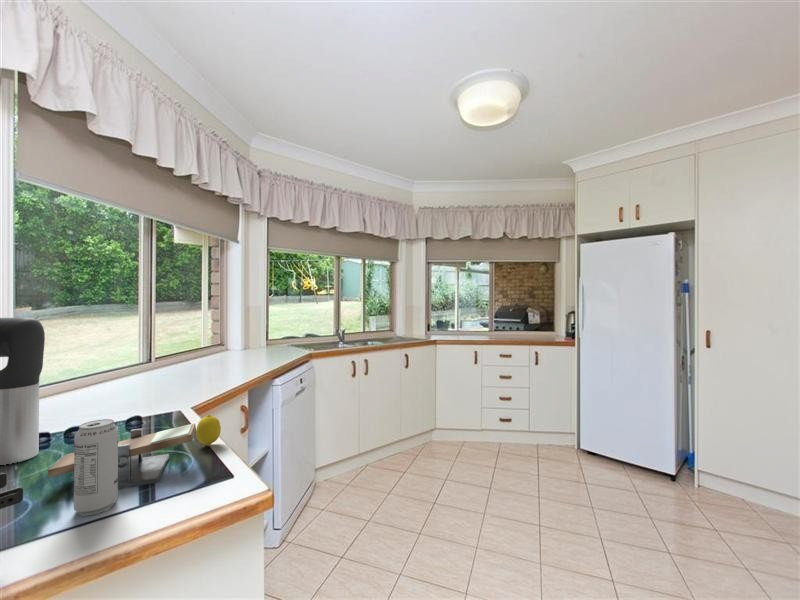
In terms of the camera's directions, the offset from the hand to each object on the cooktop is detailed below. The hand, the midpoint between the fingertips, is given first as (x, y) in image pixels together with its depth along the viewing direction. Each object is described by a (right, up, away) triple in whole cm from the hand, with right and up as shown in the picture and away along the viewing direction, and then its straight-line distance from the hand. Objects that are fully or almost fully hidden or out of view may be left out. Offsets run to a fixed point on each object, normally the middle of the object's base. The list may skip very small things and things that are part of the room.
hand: (13, 485), depth 56 cm
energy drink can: (+6, -9, +9) cm, 13 cm away
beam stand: (+2, -8, +21) cm, 23 cm away
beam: (+2, -3, +22) cm, 22 cm away
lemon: (+11, -9, +37) cm, 40 cm away
